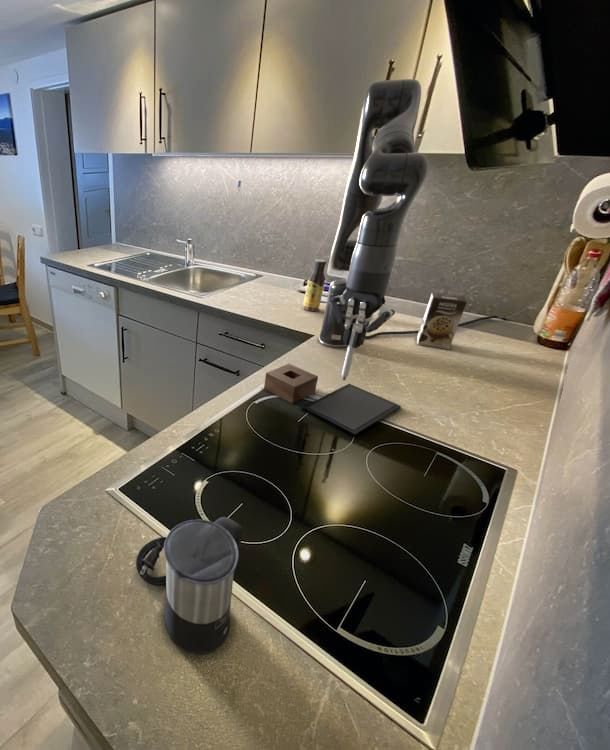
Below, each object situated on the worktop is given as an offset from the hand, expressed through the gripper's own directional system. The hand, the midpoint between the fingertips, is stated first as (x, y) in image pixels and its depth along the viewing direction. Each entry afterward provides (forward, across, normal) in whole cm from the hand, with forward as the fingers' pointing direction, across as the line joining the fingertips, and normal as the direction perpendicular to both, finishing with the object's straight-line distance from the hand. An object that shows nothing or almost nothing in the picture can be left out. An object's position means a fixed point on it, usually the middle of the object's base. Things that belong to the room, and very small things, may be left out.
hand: (351, 345), depth 91 cm
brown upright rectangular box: (+20, +7, -65) cm, 68 cm away
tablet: (+19, 0, -7) cm, 21 cm away
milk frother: (+19, -14, +59) cm, 64 cm away
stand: (+19, +15, -2) cm, 25 cm away
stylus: (+9, 0, 0) cm, 9 cm away
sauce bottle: (+20, +52, -62) cm, 83 cm away
